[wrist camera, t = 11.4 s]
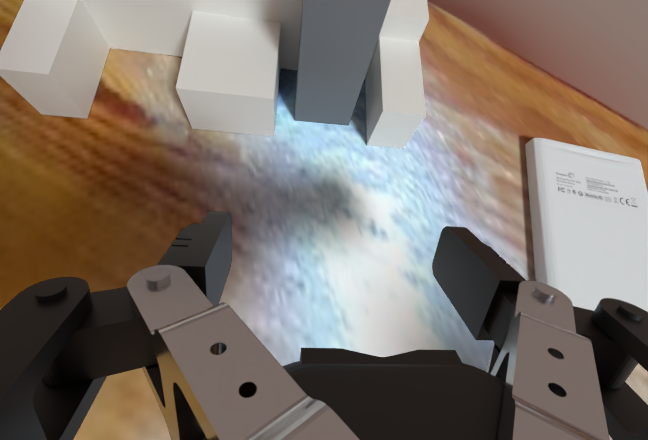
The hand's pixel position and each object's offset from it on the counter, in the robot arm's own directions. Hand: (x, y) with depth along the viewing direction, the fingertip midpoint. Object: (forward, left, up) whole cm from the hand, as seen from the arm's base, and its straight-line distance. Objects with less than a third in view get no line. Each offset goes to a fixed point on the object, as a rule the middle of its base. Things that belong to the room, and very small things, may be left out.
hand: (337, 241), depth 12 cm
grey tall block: (0, +12, -6) cm, 13 cm away
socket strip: (-6, +12, -6) cm, 15 cm away
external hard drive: (+18, +3, -7) cm, 19 cm away
